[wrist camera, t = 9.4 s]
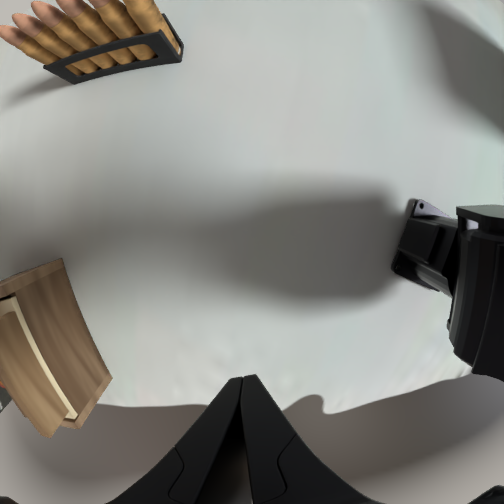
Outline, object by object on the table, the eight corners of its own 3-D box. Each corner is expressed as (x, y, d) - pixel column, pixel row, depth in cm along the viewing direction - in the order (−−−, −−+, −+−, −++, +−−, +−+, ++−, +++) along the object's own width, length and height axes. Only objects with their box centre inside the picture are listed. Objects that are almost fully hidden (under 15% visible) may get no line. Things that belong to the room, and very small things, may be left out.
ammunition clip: (72, 85, 17) (-17, 44, 5) (76, 68, 17) (-7, 22, 5) (181, 62, 17) (125, -32, 5) (184, 44, 17) (134, -51, 5)
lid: (15, 296, 14) (-21, 317, 10) (77, 414, 16) (57, 446, 12) (-23, 306, 14) (-51, 323, 10) (28, 405, 16) (9, 429, 12)
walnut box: (61, 258, 20) (2, 285, 13) (112, 378, 23) (79, 429, 15) (12, 275, 21) (-37, 299, 13) (58, 377, 24) (24, 416, 16)
